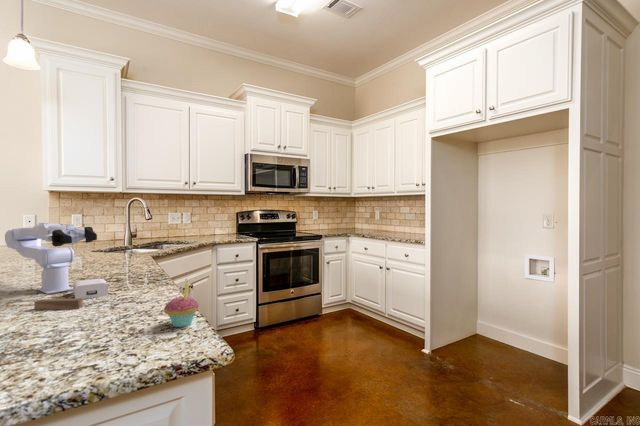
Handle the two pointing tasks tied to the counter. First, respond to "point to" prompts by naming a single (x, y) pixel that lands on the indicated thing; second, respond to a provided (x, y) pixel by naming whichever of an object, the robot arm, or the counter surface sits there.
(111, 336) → the counter surface
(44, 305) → the bar
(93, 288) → the charger
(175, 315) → the cupcake
